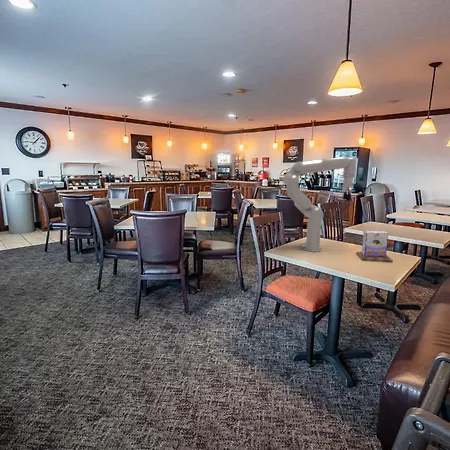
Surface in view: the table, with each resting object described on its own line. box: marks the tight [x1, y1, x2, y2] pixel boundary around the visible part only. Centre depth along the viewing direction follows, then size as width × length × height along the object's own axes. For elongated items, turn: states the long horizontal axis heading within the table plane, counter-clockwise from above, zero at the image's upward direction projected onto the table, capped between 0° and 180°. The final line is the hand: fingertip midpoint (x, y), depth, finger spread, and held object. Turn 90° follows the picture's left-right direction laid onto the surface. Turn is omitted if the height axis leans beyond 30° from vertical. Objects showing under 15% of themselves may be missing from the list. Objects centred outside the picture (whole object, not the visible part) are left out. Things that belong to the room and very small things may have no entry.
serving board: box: [355, 251, 393, 263], centre depth 198 cm, size 18×16×2 cm
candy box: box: [361, 230, 389, 257], centre depth 197 cm, size 14×6×16 cm, turn 83°
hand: (346, 199), depth 213 cm, fingers open, 9 cm apart
